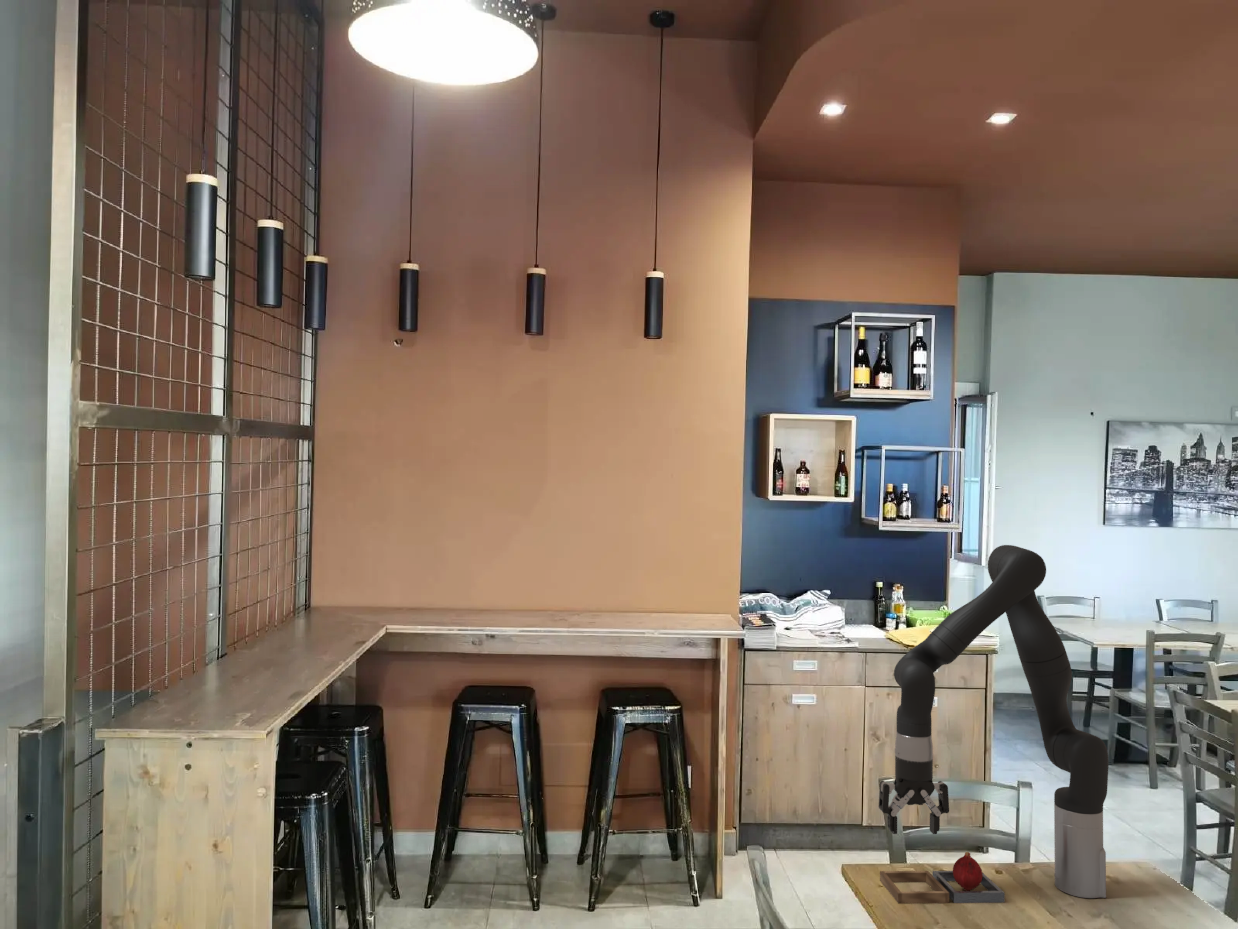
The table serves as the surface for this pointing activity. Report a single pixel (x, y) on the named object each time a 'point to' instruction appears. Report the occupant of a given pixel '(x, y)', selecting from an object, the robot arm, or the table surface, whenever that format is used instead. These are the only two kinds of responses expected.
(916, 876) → the walnut frame
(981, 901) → the grey frame
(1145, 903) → the table surface
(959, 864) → the pomegranate
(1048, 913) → the table surface
